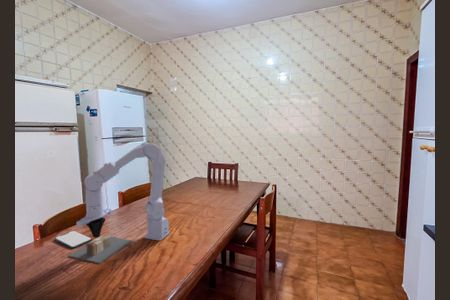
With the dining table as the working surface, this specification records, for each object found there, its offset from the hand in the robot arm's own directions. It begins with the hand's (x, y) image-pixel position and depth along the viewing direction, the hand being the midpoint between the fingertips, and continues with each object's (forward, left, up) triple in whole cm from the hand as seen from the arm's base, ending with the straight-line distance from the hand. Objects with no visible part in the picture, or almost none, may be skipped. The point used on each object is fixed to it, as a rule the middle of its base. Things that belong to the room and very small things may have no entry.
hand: (96, 236), depth 88 cm
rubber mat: (0, -3, -6) cm, 7 cm away
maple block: (0, -5, -4) cm, 6 cm away
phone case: (+18, -4, -7) cm, 20 cm away
